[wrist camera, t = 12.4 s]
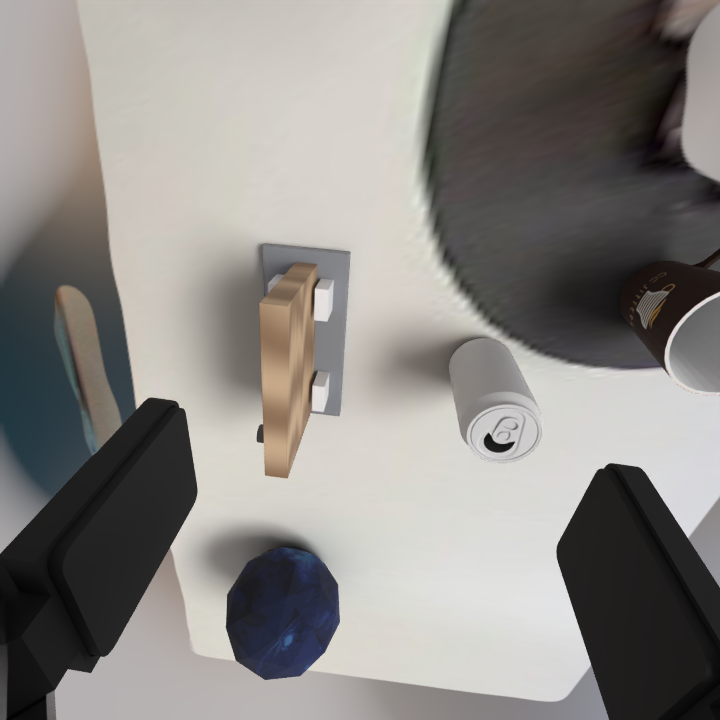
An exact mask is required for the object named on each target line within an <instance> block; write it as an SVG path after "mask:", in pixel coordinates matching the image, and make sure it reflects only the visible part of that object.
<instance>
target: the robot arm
mask: <svg viewBox="0 0 720 720" xmlns="http://www.w3.org/2000/svg"><path fill="white" fill-rule="evenodd" d="M196 497H197V482H196V476H195V470H194V463H193V457H192V451H191V444H190V438H189V431H188V425H187V419H186V413H185V410H184V409H182V408H179V405H178V403H177V402H176V401H172V400H165V399H158V398H148V399H147V400H146V401H144V402H143V404H142V405H141V406H140V407H139V408H138V409H137V410H136V411H135V412H134V413H133V414H132V415H131V416H130V417H129V419H128V420H127V421H126V422H125V423H124V424H123V425H122V426H121V427H120V428H119V429H118V430H117V431H116V432H115V434H114V435H113V436H112V437H111V438H110V439H109V440H108V441H107V442H106V443H105V444H104V445H103V446H102V447H101V449H100V450H99V451H98V452H97V453H95V454H94V455H93V456H92V457H91V458H90V459H89V460H88V461H87V462H86V463H85V464H84V465H83V466H82V467H81V468H80V469H79V471H78V472H77V473H76V474H75V475H74V476H73V477H72V478H71V479H70V480H69V481H68V482H67V483H66V484H65V485H64V486H63V488H62V489H61V490H60V491H59V492H58V493H57V494H56V495H55V496H54V497H53V498H52V499H51V500H50V501H49V503H48V504H47V505H46V506H45V507H44V508H43V509H42V510H41V511H40V512H39V513H38V514H37V515H36V516H35V518H34V519H33V520H32V521H31V522H30V523H29V524H28V525H27V526H26V527H25V528H24V529H23V530H22V531H21V532H20V534H18V536H17V537H16V538H15V539H14V540H13V541H12V542H11V543H10V544H9V545H8V546H7V547H6V548H5V549H4V551H3V552H2V553H1V554H0V720H56V709H55V691H54V690H55V689H56V687H57V686H58V684H59V682H60V681H61V679H62V677H63V676H64V674H65V673H66V671H67V669H71V670H77V671H82V672H88V673H91V672H92V670H93V668H94V667H95V665H96V663H97V661H98V660H99V658H100V656H102V657H105V656H106V655H108V654H109V653H110V652H111V650H112V649H113V648H114V646H115V644H116V643H117V641H118V639H119V637H120V636H121V634H122V632H123V630H124V628H125V627H126V625H127V623H128V621H129V619H130V618H131V616H132V614H133V612H134V611H135V609H136V607H137V605H138V603H139V602H140V600H141V598H142V596H143V594H144V593H145V591H146V589H147V587H148V585H149V584H150V582H151V580H152V578H153V577H154V575H155V573H156V571H157V569H158V568H159V566H160V564H161V562H162V561H163V559H164V557H165V555H166V553H167V552H168V550H169V548H170V546H171V545H172V543H173V541H174V539H175V537H176V536H177V534H178V532H179V530H180V528H181V527H182V525H183V523H184V521H185V520H186V518H187V516H188V514H189V512H190V511H191V509H192V507H193V505H194V503H195V500H196ZM557 560H558V564H559V567H560V570H561V573H562V576H563V579H564V582H565V585H566V588H567V591H568V594H569V597H570V601H571V604H572V607H573V610H574V613H575V616H576V619H577V622H578V625H579V628H580V631H581V634H582V637H583V640H584V644H585V647H586V650H587V653H588V656H589V659H590V662H591V665H592V668H593V671H594V674H595V677H596V680H597V683H598V686H599V690H600V693H601V696H602V699H603V702H604V705H605V708H606V711H607V714H608V717H609V720H720V588H719V586H718V584H717V583H716V581H715V580H714V578H713V577H712V575H711V573H710V572H709V570H708V569H707V567H706V566H705V564H704V563H703V561H702V560H701V558H700V556H699V555H698V553H697V552H696V550H695V549H694V547H693V546H692V544H691V543H690V541H689V540H688V538H687V536H686V535H685V533H684V532H683V530H682V529H681V527H680V526H679V524H678V523H677V521H676V520H675V518H674V516H673V515H672V513H671V512H670V510H669V509H668V507H667V506H666V504H665V503H664V501H663V500H662V498H661V496H660V495H659V493H658V492H657V490H656V489H655V487H654V486H653V484H652V483H651V481H650V480H649V478H648V476H647V475H646V473H645V472H644V471H643V470H642V469H641V468H639V467H635V466H628V465H621V464H614V463H610V464H608V465H606V467H605V468H604V469H599V470H598V471H597V472H596V474H595V475H594V477H593V479H592V481H591V483H590V485H589V487H588V488H587V490H586V492H585V494H584V496H583V498H582V500H581V502H580V503H579V505H578V507H577V509H576V511H575V513H574V515H573V516H572V518H571V520H570V522H569V524H568V526H567V528H566V529H565V531H564V533H563V535H562V537H561V539H560V541H559V543H558V545H557Z"/></svg>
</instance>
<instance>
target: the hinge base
mask: <svg viewBox="0 0 720 720" xmlns="http://www.w3.org/2000/svg"><path fill="white" fill-rule="evenodd" d="M296 262H299V263H309V264H317V286H316V288H315V306H314V320H315V349H314V378H313V389H312V410H311V413H316V414H324V415H332V416H339V415H340V409H341V394H342V378H343V362H344V346H345V331H346V315H347V299H348V283H349V268H350V252H346V251H336V250H326V249H316V248H306V247H296V246H286V245H276V244H265V245H263V271H264V297H265V296H266V295H267V294H268V293H269V292H270V291H271V289H272V288H273V287H274V286H275V285H276V284H277V283H278V282H279V281H280V279H281V278H282V277H283V276H284V275H285V274H286V273H287V272H288V271H289V269H290V268H291V267H292V266H293V265H294V264H295V263H296Z"/></svg>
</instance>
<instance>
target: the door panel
mask: <svg viewBox="0 0 720 720" xmlns="http://www.w3.org/2000/svg"><path fill="white" fill-rule="evenodd" d="M316 286H317V264H309V263H299V262H296V263H295V264H294V265H293V266H292V267H291V268H290V269H289V271H288V272H287V273H286V274H285V275H284V276H283V277H282V278H281V279H280V281H279V282H278V283H277V284H276V285H275V286H274V287H273V288H272V289H271V291H270V292H269V293H268V294H267V295H266V296H265V297H264V298H263V299H262V301H261V302H260V303H259V314H260V343H261V372H262V401H263V425H262V424H261V425H260V426H259V428H258V431H257V442H260V443H264V460H265V475H266V476H273V477H280V478H288V476H289V473H290V470H291V467H292V464H293V461H294V459H295V456H296V453H297V450H298V447H299V444H300V441H301V439H302V436H303V433H304V430H305V427H306V424H307V421H308V419H309V416H310V413H311V410H312V389H313V378H314V349H315V320H314V306H315V288H316Z"/></svg>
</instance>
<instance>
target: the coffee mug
mask: <svg viewBox="0 0 720 720" xmlns="http://www.w3.org/2000/svg"><path fill="white" fill-rule="evenodd" d="M718 259H720V249H718V250H717V251H716V252H715V253H713V254H712V255H711V256H710V257H708V258H707V259H705V260H704V261H703V262H700V263H698V264H695V265H688V264H684V263H679V262H674V261H662V262H657V263H654V264H651V265H648V266H646V267H644V268H643V269H641V270H639V271H638V272H637V273H635V274H634V275H633V276H632V277H631V278H630V279H629V280H628V282H627V283H626V284H625V286H624V288H623V290H622V292H621V295H620V299H619V308H620V312H621V314H622V316H623V318H624V319H625V320H626V322H627V323H628V324H629V325H630V327H631V328H632V329H633V330H634V332H635V333H636V334H637V336H638V337H639V338H640V339H641V341H642V342H643V343H644V344H645V346H646V347H647V348H648V349H649V351H650V352H651V353H652V355H653V356H654V357H655V358H656V360H657V361H658V362H659V363H660V365H661V366H662V367H663V369H664V370H665V371H666V372H667V374H668V375H669V376H670V377H671V379H672V380H673V381H674V382H675V383H676V384H677V385H679V386H680V387H682V388H683V389H685V390H687V391H690V392H692V393H695V394H700V395H706V396H719V395H720V272H718V271H714V270H709V269H707V268H708V267H710V266H711V265H712V264H713V263H714V262H716V261H717V260H718Z"/></svg>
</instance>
